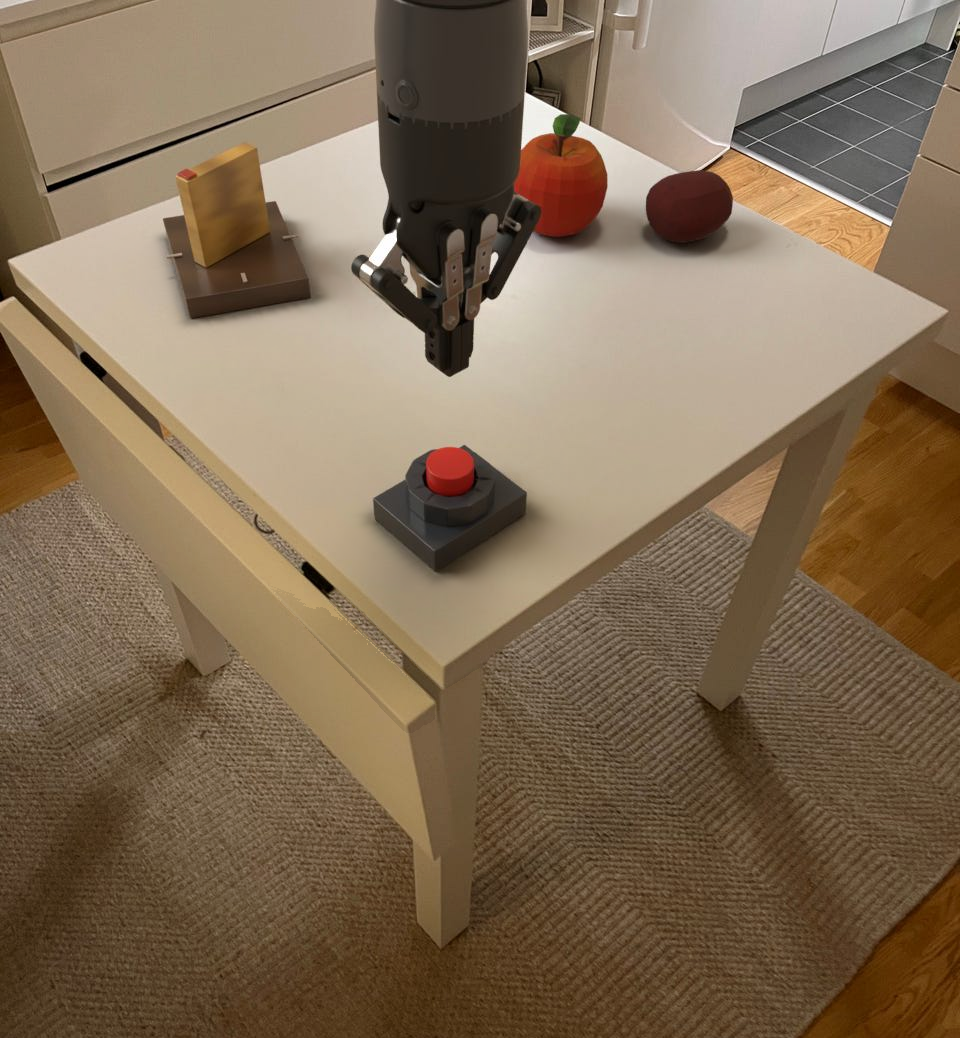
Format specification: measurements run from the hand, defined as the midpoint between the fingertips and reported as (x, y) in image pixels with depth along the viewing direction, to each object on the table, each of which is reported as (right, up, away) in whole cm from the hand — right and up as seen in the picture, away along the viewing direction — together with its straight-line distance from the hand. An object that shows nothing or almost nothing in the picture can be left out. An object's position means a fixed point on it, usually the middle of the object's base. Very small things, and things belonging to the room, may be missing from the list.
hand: (448, 366), depth 64 cm
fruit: (+9, +24, +36) cm, 44 cm away
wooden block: (-21, +19, +29) cm, 40 cm away
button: (0, -6, +8) cm, 10 cm away
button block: (0, -8, +11) cm, 14 cm away
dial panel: (-21, +18, +30) cm, 41 cm away
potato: (+23, +23, +36) cm, 48 cm away
